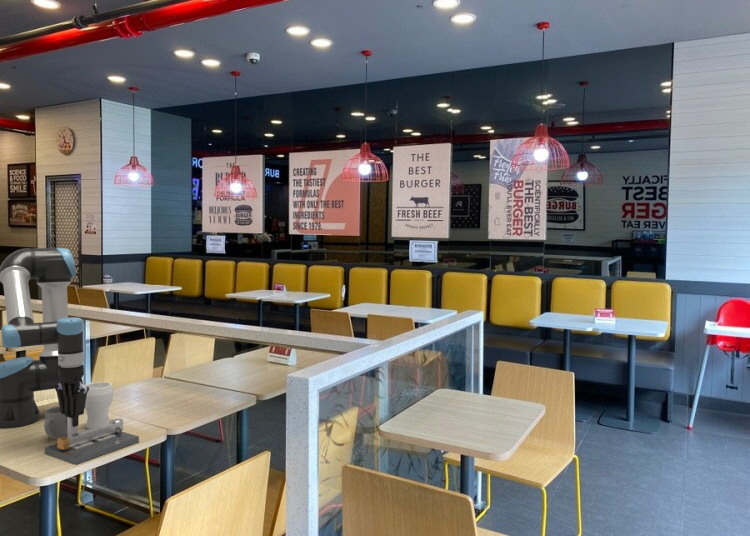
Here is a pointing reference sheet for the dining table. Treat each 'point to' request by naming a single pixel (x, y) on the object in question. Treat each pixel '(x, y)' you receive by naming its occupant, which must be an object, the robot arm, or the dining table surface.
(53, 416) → the mug
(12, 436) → the dining table surface
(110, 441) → the chassis
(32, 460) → the dining table surface
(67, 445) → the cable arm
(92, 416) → the cup
